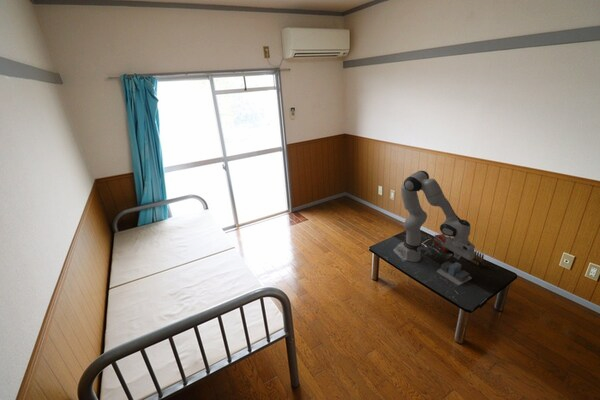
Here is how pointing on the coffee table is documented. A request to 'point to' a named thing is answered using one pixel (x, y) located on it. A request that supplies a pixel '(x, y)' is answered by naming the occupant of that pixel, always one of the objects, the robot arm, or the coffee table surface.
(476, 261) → the ammunition clip
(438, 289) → the coffee table surface
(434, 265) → the coffee table surface
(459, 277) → the board
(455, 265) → the block
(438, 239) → the medicine box
